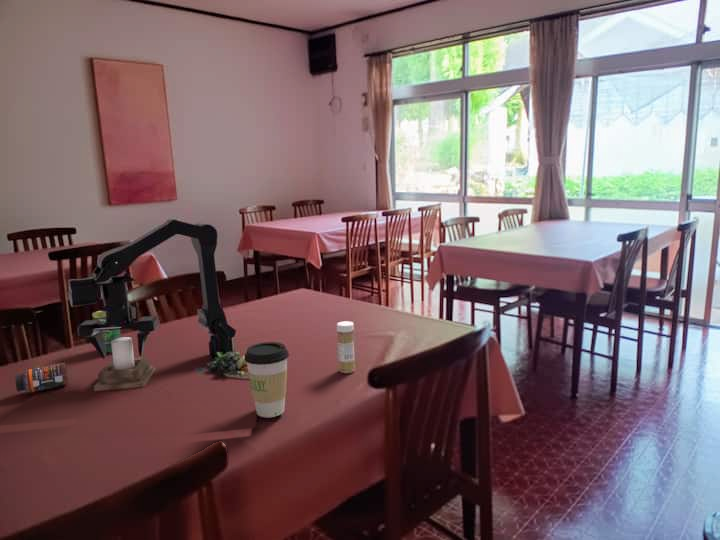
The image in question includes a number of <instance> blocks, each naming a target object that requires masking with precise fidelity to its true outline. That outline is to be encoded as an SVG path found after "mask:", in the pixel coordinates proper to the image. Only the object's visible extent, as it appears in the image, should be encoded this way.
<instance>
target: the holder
mask: <svg viewBox="0 0 720 540" xmlns="http://www.w3.org/2000/svg"><path fill="white" fill-rule="evenodd" d="M134 362H135V369H127V370H114V362H113V359H110V361H108V362H107V364H105V366H103V368H102V369H101V370H100V371H99V372H98V373H97V377H98V378H97V379H98V382H96V384H94V385H93V390H94V392H101V391H110V390H111V391H113V390H123V389H126V390H127V389H133V388H144V387H146V384H147V383H148V381H149V380H150V378H151V377H152V375H153V373H154V372H155V370H156V367H155V365H150V364H151V363H150V357H149V356H147V357H146V356H145V357H134Z"/></svg>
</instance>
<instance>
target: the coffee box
mask: <svg viewBox="0 0 720 540" xmlns="http://www.w3.org/2000/svg"><path fill="white" fill-rule="evenodd" d="M91 314H92V320H100V321H101V323H105V322H106V316H105V311H103V310H97V311H95V312H92V313H91ZM111 327H112V326H111ZM117 338H122V336H121V329H116V330H103V341H104V346H105V351H106V353H107V352H110V353H109V354H112V346H111V341H112V340H114V339H117Z"/></svg>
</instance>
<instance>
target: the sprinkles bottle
mask: <svg viewBox="0 0 720 540" xmlns="http://www.w3.org/2000/svg"><path fill="white" fill-rule="evenodd" d="M354 326H355V325H354V322H353V321H349V320H345V321H339V322H337V323H336V332H337V349H338V351H337V353H338V372H340V373H342V374H351V373H354V372H355V371H356V366H355V364H356V362H355V358H356V356H355V340H354V339H355V338H354V332H355V327H354Z"/></svg>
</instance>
